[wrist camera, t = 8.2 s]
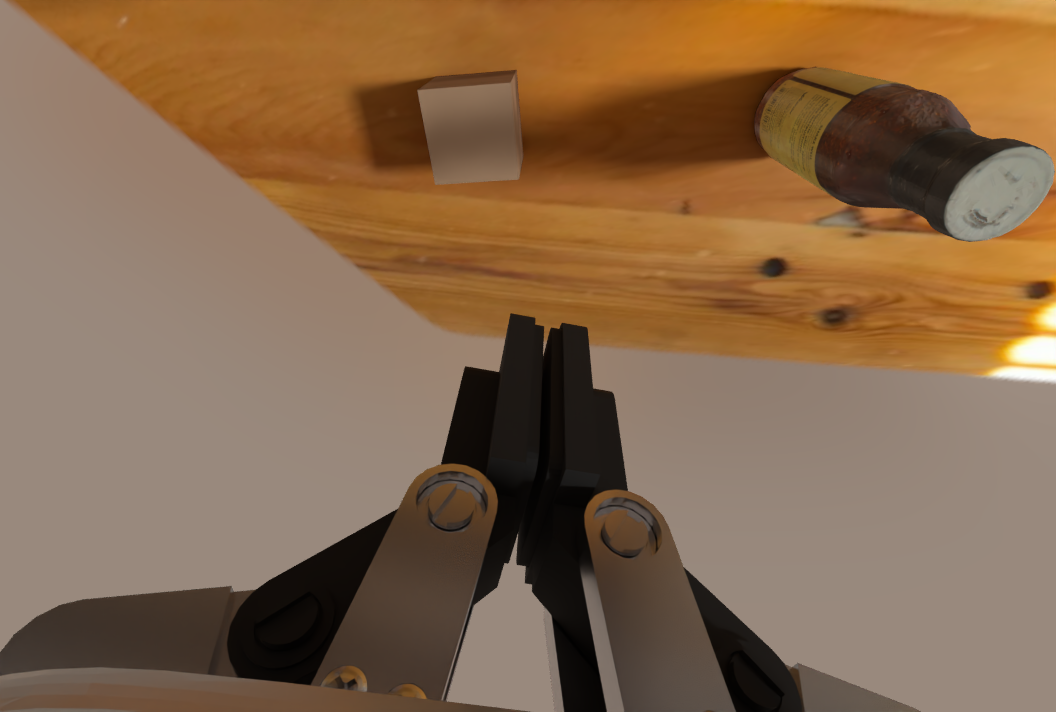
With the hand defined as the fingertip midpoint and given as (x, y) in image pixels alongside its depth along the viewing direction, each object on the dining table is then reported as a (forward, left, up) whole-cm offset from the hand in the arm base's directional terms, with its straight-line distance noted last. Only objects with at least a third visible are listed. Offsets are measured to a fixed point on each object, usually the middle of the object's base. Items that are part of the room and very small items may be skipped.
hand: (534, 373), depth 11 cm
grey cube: (+2, -5, -32) cm, 33 cm away
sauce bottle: (-3, +18, -32) cm, 37 cm away
